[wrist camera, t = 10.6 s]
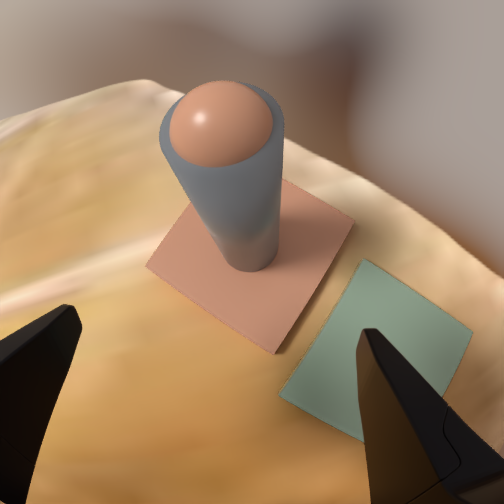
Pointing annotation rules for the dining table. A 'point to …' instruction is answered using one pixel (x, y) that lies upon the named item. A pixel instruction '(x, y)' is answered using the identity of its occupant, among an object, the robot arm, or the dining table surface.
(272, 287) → the terracotta tile
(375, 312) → the sage tile
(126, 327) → the dining table surface
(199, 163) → the tube
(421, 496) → the robot arm
